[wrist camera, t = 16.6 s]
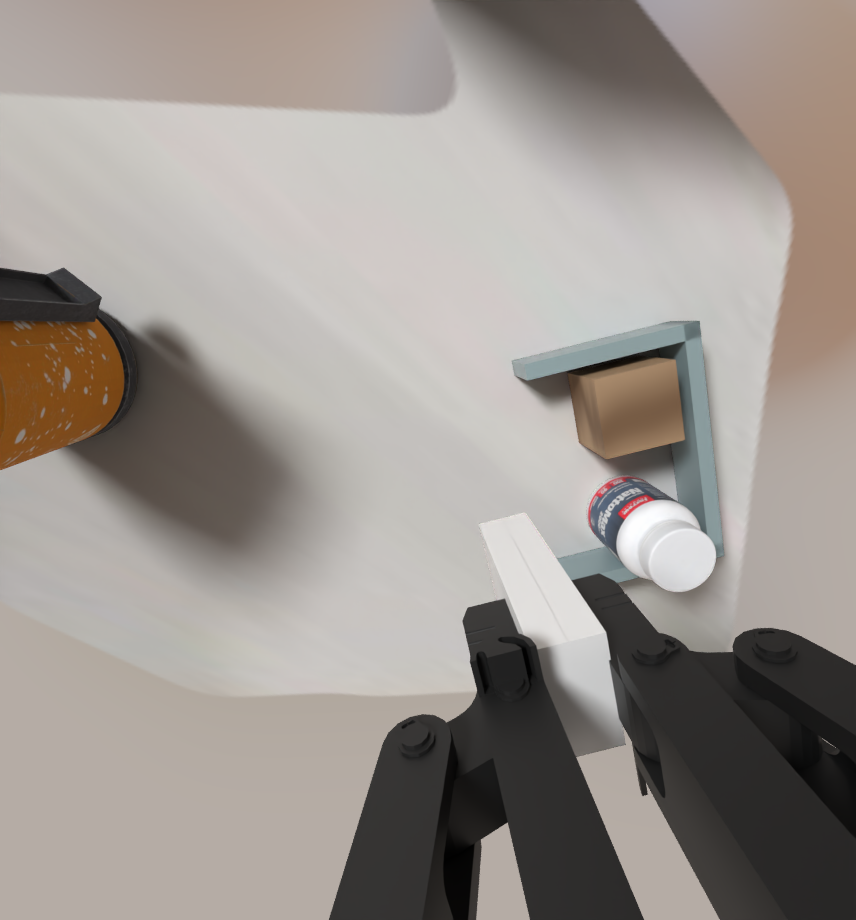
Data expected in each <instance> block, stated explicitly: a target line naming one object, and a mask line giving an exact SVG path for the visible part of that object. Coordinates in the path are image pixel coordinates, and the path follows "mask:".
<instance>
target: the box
mask: <svg viewBox="0 0 856 920" xmlns="http://www.w3.org/2000/svg"><path fill="white" fill-rule="evenodd" d="M656 348H659V353H660V358H665V359H674V360H676V367H677V375H678V384H679V392H680V401H681V410H682V418H683V427H684V435H685V440H683V441H679V442H675V443H671V448H672V456H673V464H674V472H675V479H676V487H677V495H678V502H679V503H680V504H682V505H683V506H685V507H686V508H687V509H688V510H690V511H691V512H692V513H693V515H694V516H695V517H696V519H697V521H698V523H699V525H700V529H701V531H702V532H704V533H705V534H706V535H707V536H708V537H709V538H710V539H711V540H712V542H713V544H714V546H715V550H716V558H718V557H722V556H724V549H723V539H722V530H721V520H720V511H719V501H718V492H717V482H716V473H715V463H714V454H713V444H712V435H711V426H710V416H709V407H708V397H707V388H706V378H705V369H704V359H703V350H702V340H701V331H700V321H670V322H666V323H662V324H658V325H654V326H650V327H646V328H642V329H638V330H634V331H630V332H626V333H622V334H618V335H614V336H610V337H606V338H602V339H598V340H594V341H590V342H586V343H582V344H578V345H574V346H570V347H566V348H562V349H558V350H554V351H550V352H546V353H542V354H538V355H534V356H530V357H526V358H521V359H517V360H513V361H512V364H513V370H514V375H515V376H517V377H520V378H522V379H525V380H527V381H528V380H532V379H536V378H540V377H544V376H548V375H552V374H556V373H560V372H564V371H568V370H572V369H576V368H580V367H584V366H588V365H592V364H596V363H600V362H604V361H608V360H612V359H616V358H620V357H624V356H628V355H632V354H636V353H640V352H644V351H648V350H652V349H656ZM557 560H558V562H559V563H560V565H561V566H562V568H563V569H564V571H565V572H566V573H567V575H568V576H569V578H570V579H571V580H575V579H578V578H582V577H586V576H590V575H594V574H598V573H599V574H602V575H604V576H606V577H608V578H610V579H612V580H614V581H615V582H616V583H619V582H623V581H627V580H631V579H635V578H639V576H637V575H635V574H633V573H632V572H631V571H629V570H628V569H627V568H626V567H625V566H624V565H623V564H622V563H621V562H620V561H619V560H618V558H617V557H616V556H615V555H614V554H613V553H612V552H611V551H610V550H609V549H608V548H607V547H602V548H598V549H594V550H590V551H587V552H583V553H579V554H575V555H571V556H567V557H563V558H559V559H557Z"/></svg>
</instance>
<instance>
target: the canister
mask: <svg viewBox="0 0 856 920" xmlns="http://www.w3.org/2000/svg"><path fill="white" fill-rule="evenodd" d="M101 298H102V297H101V296H100V295H98V294H97V293H96V292H95V291H93V290H92V289H91V288H89V287H88V286H87V285H86V284H84V283H83V282H82V281H80V280H79V279H78V278H76V277H75V276H74V275H73V274H71V273H70V272H69V271H67V270H66V269H65V268H61V269H59V270H56V271H54V272H51V273H49V274H47V275H45V274H38V273H32V272H25V271H18V270H12V269H5V268H0V470H2V469H5V468H8V467H10V466H13V465H16V464H19V463H21V462H24V461H27V460H29V459H32V458H35V457H38V456H40V455H43V454H46V453H48V452H51V451H54V450H57V449H59V448H62V447H65V446H68V445H70V444H73V443H76V442H78V441H81V440H84V439H86V438H89V437H92V436H95V435H97V434H100V433H102V432H104V431H106V430H108V429H110V428H111V427H113V426H114V425H115V424H116V423H118V422H119V421H120V420H121V419H122V417H123V416H124V415H125V414H126V412H127V411H128V409H129V408H130V406H131V404H132V401H133V399H134V396H135V392H136V387H137V367H136V361H135V358H134V354H133V351H132V349H131V347H130V344H129V342H128V340H127V339H126V337H125V336H124V334H123V332H122V331H121V329H120V328H119V327H118V326H117V325H116V324H115V323H114V321H113V320H112V319H110V318H109V317H108V316H107V315H106V314H105V313H104V312H102V311H101V310H99V305H100V301H101Z"/></svg>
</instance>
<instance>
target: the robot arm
mask: <svg viewBox="0 0 856 920" xmlns="http://www.w3.org/2000/svg"><path fill="white" fill-rule="evenodd" d="M479 528H480V532H481V537H482V541H483V545H484V549H485V554H486V558H487V562H488V567H489V571H490V575H491V579H492V584H493V588H494V592H495V596H496V600H497V601H493V602H489V603H485V604H481V605H477V606H473V607H469V608H467V611H466V613H465V616H464V618H463V625H464V629H465V634H466V638H467V643H468V647H469V651H470V656H471V657H470V664H471V667H472V671H473V675H474V679H475V683H476V687H477V694H476V697H475V699H474V701H473V703H472V705H471V706H470V707H469V708H468V709H467V710H466V711H465V712H464V713H462V714H461V715H459V716H458V717H456V718H454V719H453V720H451V721H449V722H447V723H446V722H445V721H444V720H443V719H441V718H439V717H437V716H434V715H424V714H422V715H418V716H413V717H409V718H408V719H406V720H404V721H402V722H400V723H398V724H397V725H396V726H395V727H394V728H393V729H392V730H391V731H390V732H389V733H388V735H387V737H386V739H385V740H384V742H383V745H382V748H381V751H380V755H379V758H378V761H377V764H376V768H375V771H374V774H373V777H372V781H371V784H370V788H369V791H368V794H367V797H366V800H365V804H364V807H363V810H362V814H361V817H360V820H359V823H358V827H357V830H356V833H355V836H354V839H353V843H352V846H351V850H350V853H349V856H348V859H347V862H346V866H345V869H344V872H343V876H342V879H341V882H340V885H339V888H338V892H337V895H336V899H335V901H334V905H333V909H332V912H331V915H330V918H329V920H476V913H477V901H478V887H479V886H478V885H479V874H480V860H481V839H482V838H484V837H485V836H487V835H489V834H490V833H492V832H493V831H495V830H496V829H498V828H499V827H501V826H503V825H504V824H506V823H507V822H508V825H509V829H510V834H511V838H512V843H513V847H514V851H515V856H516V860H517V864H518V868H519V873H520V877H521V882H522V886H523V891H524V895H525V899H526V904H527V908H528V912H529V917H530V920H644V919H643V916H642V914H641V911H640V909H639V907H638V904H637V902H636V899H635V897H634V895H633V892H632V890H631V888H630V885H629V883H628V880H627V878H626V876H625V873H624V871H623V868H622V866H621V864H620V862H619V859H618V856H617V854H616V852H615V849H614V847H613V844H612V842H611V840H610V837H609V835H608V833H607V831H606V828H605V825H604V823H603V821H602V818H601V816H600V813H599V811H598V809H597V806H596V804H595V801H594V799H593V797H592V794H591V792H590V790H589V787H588V785H587V782H586V780H585V778H584V775H583V773H582V770H581V768H580V766H579V763H578V761H577V758H576V757H578V756H582V755H586V754H590V753H594V752H598V751H602V750H606V749H610V748H614V747H618V746H622V745H626V744H625V738H624V732H623V727H624V728H625V730H626V732H627V734H628V736H629V737H630V739H631V741H632V745H633V751H634V757H635V763H636V769H637V775H638V781H639V786H640V790H641V793H642V796H644V795H647V787H646V783H647V785H648V787H649V789H650V791H651V793H652V794H653V796H654V798H655V800H656V802H657V804H658V806H659V807H660V809H661V811H662V812H663V815H664V817H665V818H666V820H667V822H668V824H669V826H670V828H671V830H672V832H673V833H674V835H675V837H676V839H677V841H678V842H679V844H680V846H681V848H682V850H683V852H684V854H685V856H686V858H687V859H688V861H689V863H690V865H691V867H692V869H693V871H694V872H695V874H696V876H697V878H698V879H699V882H700V884H701V885H702V887H703V889H704V891H705V893H706V895H707V896H708V898H709V900H710V902H711V904H712V906H713V908H714V909H715V911H716V913H717V915H718V917H719V919H720V920H856V665H854V664H852V663H850V662H848V661H847V660H845V659H843V658H841V657H839V656H837V655H835V654H833V653H831V652H830V651H828V650H826V649H824V648H822V647H820V646H818V645H817V644H815V643H813V642H811V641H809V640H807V639H805V638H803V637H802V636H799V635H796V634H794V633H791V632H789V631H785V630H779V629H773V628H760V629H759V628H758V629H753V630H749V631H746V632H743V633H742V634H740V635H739V636H738V637H736V638H735V641H734V644H733V652H717V653H705V652H694V651H689V649H688V648H687V647H686V646H685V645H684V644H683V643H681V642H680V641H679V640H677V639H676V638H674V637H671V636H668V635H666V634H661V633H658V632H657V631H656V629H655V628H654V627H653V626H652V625H651V623H650V622H649V621H648V620H647V619H646V617H645V616H644V615H643V614H642V613H641V611H640V610H639V609H638V608H637V607H636V606H635V604H634V603H632V601H631V600H630V598H629V597H628V596H627V595H626V594H625V593H624V591H623V590H622V589H621V588H620V586H619V585H618V584H617V583H616V582H615V581H614V580H612V579H610V578H608V577H606V576H604V575H602V574H599V573H598V574H594V575H590V576H586V577H582V578H578V579H575V580H571V579H570V578H569V576H568V575H567V573H566V572H565V571H564V569H563V568H562V566H561V565H560V563H559V562H558V560H557V559H556V557H555V556H554V554H553V553H552V551H551V550H550V548H549V547H548V545H547V544H546V542H545V541H544V539H543V538H542V536H541V535H540V533H539V532H538V530H537V529H536V527H535V526H534V525H533V523H532V522H531V520H530V519H529V517H528V516H527V514H526V513H525V512H524V513H520V514H516V515H512V516H508V517H505V518H501V519H497V520H493V521H489V522H485V523H481V524H479ZM622 725H623V726H622ZM822 738H823V739H824V740H826V741H828V742H829V743H830V744H832V745H833V746H834V747H833V746H832V745H830V744H829V743H827V742H826V741H824V740H823V739H822ZM835 747H836V748H835Z"/></svg>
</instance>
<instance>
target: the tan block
mask: <svg viewBox="0 0 856 920" xmlns="http://www.w3.org/2000/svg"><path fill="white" fill-rule="evenodd" d="M567 374H568V380H569V386H570V391H571V397H572V403H573V409H574V415H575V421H576V427H577V433H578V439H579V443H581V444H582V445H584V446H585V447H587V448H589V449H590V450H592V451H593V452H595V453H597V454H598V455H600V456H602V457H603V458H605V459H610V458H614V457H618V456H622V455H626V454H630V453H634V452H638V451H643V450H647V449H651V448H655V447H659V446H663V445H667V444H671V443H675V442H679V441H683V440H685V435H684V427H683V418H682V410H681V401H680V392H679V384H678V375H677V367H676V360H674V359H665V358H657V357H648V356H640V355H638V356H634V357H630V358H626V359H622V360H618V361H614V362H610V363H605V364H601V365H597V366H593V367H589V368H585V369H581V370H577V371H573V372H569V373H567Z"/></svg>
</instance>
